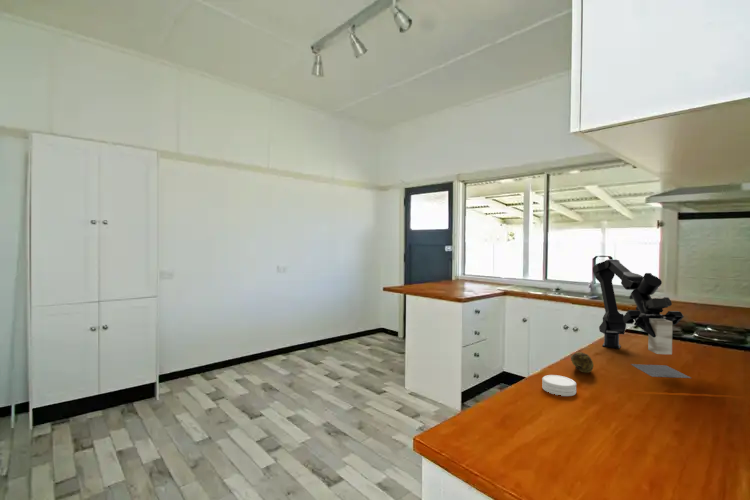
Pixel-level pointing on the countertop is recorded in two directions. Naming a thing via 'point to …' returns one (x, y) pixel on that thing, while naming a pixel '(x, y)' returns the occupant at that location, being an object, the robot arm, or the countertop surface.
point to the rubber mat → (660, 371)
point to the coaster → (559, 385)
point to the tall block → (660, 336)
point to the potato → (582, 362)
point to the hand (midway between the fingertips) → (662, 337)
